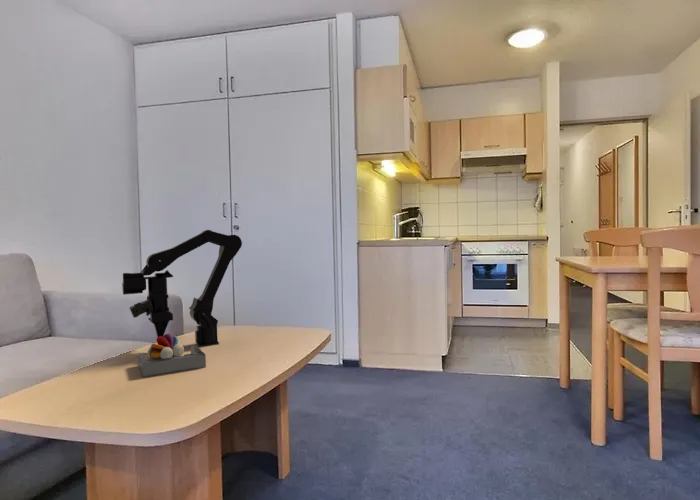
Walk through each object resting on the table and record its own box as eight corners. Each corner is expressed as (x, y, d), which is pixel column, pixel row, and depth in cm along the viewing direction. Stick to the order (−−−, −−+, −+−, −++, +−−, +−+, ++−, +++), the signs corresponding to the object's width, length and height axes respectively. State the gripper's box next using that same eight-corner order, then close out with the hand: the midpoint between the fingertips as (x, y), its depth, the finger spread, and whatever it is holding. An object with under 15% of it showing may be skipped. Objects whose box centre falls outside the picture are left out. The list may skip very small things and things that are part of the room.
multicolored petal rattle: (143, 360, 137) (142, 336, 137) (169, 352, 146) (168, 330, 146) (162, 363, 133) (161, 338, 133) (188, 355, 142) (187, 332, 142)
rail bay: (196, 356, 139) (195, 345, 139) (205, 367, 127) (205, 354, 127) (138, 365, 131) (137, 353, 131) (143, 377, 119) (142, 363, 119)
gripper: (128, 291, 153) (130, 338, 153) (132, 296, 137) (135, 348, 137) (164, 289, 158) (166, 333, 159) (172, 293, 142) (174, 343, 142)
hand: (159, 339), depth 149 cm, fingers closed
